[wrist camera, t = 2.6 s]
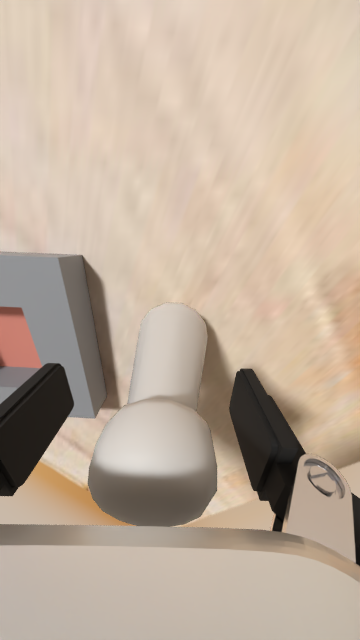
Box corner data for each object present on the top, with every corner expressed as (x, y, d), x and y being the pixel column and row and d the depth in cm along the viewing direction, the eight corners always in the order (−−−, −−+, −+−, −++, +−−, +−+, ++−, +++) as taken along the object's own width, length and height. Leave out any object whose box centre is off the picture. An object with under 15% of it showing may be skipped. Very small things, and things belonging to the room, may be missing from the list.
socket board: (81, 255, 15) (57, 257, 12) (107, 395, 21) (95, 418, 18) (-104, 247, 15) (-169, 248, 12) (-23, 388, 21) (-54, 410, 19)
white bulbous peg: (194, 354, 18) (211, 560, 6) (141, 342, 18) (51, 537, 6) (212, 303, 16) (290, 476, 4) (151, 287, 16) (39, 428, 4)
